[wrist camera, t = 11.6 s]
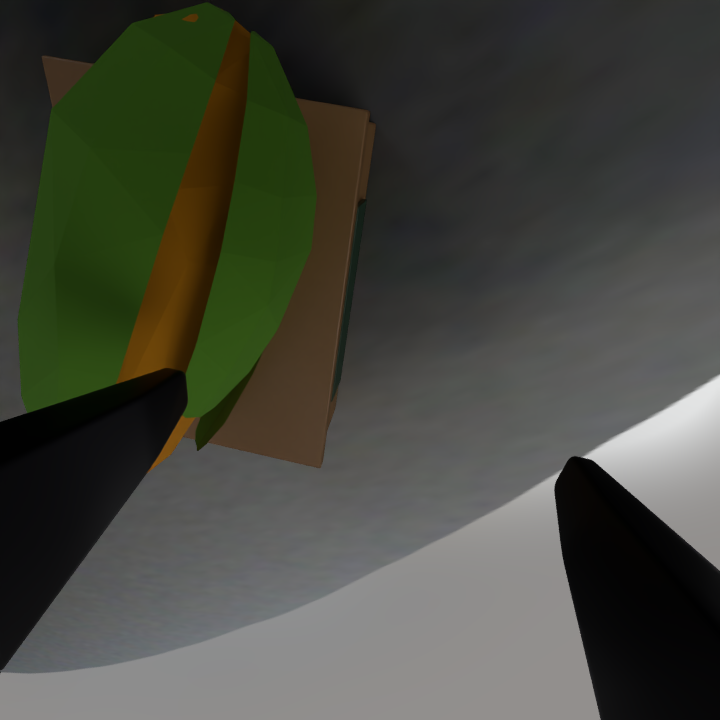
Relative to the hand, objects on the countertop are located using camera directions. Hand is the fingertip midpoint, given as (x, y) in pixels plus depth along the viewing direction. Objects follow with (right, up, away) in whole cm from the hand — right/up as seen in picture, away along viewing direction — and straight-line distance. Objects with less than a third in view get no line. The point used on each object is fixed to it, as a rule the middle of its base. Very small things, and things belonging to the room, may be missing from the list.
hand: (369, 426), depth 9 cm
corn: (-7, +4, +8) cm, 12 cm away
